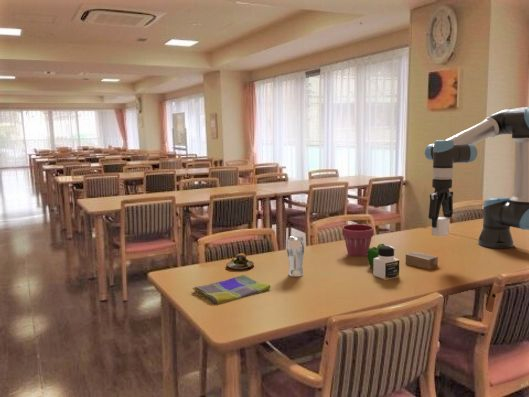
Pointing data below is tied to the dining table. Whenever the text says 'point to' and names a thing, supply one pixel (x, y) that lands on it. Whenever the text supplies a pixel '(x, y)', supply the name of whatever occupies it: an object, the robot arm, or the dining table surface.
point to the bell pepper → (373, 254)
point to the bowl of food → (240, 262)
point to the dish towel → (231, 289)
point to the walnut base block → (422, 260)
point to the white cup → (443, 226)
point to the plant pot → (357, 239)
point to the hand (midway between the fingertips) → (440, 233)
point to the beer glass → (295, 255)
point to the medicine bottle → (386, 263)
